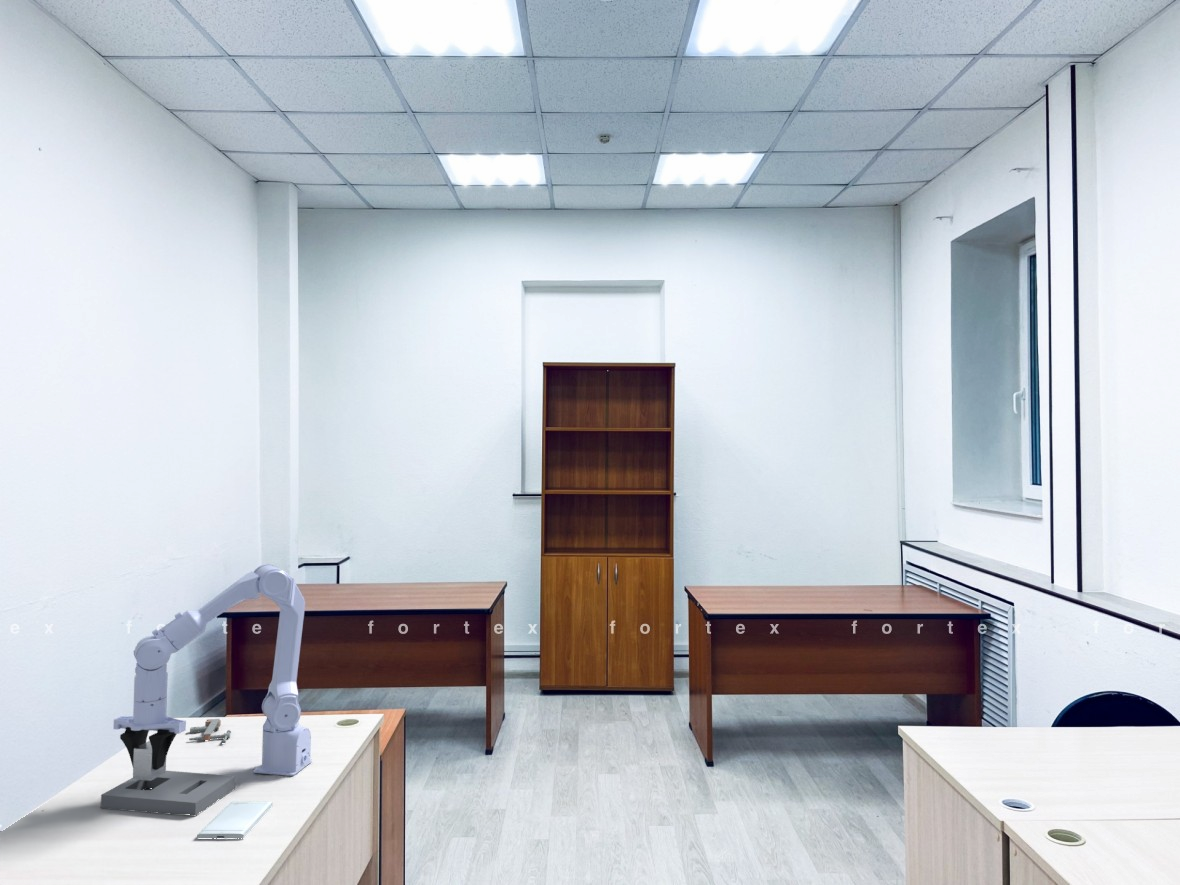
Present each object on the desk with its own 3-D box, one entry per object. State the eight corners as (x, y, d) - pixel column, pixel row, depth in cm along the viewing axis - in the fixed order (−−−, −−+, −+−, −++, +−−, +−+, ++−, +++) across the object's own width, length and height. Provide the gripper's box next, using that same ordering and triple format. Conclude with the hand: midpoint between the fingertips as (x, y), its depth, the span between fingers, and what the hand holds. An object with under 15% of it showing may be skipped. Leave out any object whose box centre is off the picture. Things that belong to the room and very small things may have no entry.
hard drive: (230, 801, 140) (196, 833, 128) (273, 801, 140) (243, 832, 128) (230, 810, 140) (196, 842, 128) (272, 809, 140) (243, 842, 128)
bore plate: (235, 788, 148) (235, 776, 148) (195, 816, 136) (195, 802, 136) (147, 781, 151) (148, 769, 151) (100, 808, 139) (101, 794, 139)
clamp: (194, 719, 182) (237, 716, 185) (194, 728, 182) (237, 725, 185) (179, 741, 168) (226, 737, 171) (178, 751, 168) (226, 747, 171)
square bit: (165, 772, 146) (166, 742, 146) (150, 780, 142) (152, 749, 142) (147, 771, 147) (149, 741, 147) (132, 779, 143) (133, 748, 143)
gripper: (102, 702, 142) (99, 772, 141) (168, 706, 140) (166, 777, 139) (129, 691, 149) (127, 758, 148) (193, 695, 147) (191, 763, 146)
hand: (148, 766), depth 144 cm, fingers closed on square bit, 4 cm apart
